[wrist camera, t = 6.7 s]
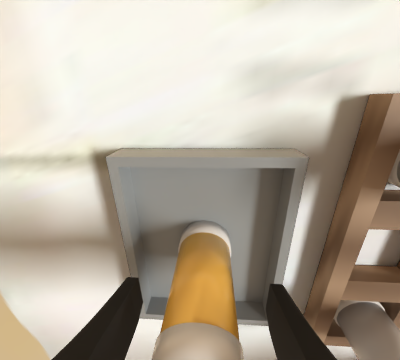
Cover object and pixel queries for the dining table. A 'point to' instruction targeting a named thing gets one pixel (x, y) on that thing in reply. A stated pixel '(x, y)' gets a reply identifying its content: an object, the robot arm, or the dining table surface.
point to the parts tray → (208, 215)
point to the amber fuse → (201, 299)
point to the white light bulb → (395, 172)
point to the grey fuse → (368, 330)
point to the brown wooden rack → (361, 225)
